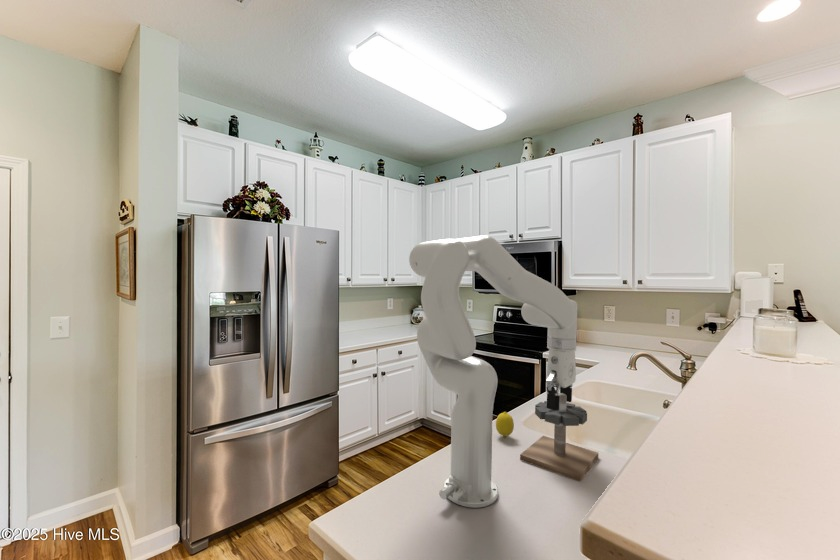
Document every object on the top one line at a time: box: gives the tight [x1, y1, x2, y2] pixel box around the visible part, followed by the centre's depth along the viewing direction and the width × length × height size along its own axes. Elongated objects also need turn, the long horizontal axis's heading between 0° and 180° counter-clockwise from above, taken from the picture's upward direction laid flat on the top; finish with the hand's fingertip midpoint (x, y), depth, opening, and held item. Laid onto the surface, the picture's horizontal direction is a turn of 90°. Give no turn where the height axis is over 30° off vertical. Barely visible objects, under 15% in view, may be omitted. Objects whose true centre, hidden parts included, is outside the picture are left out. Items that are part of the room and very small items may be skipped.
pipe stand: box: [519, 392, 599, 482], centre depth 103 cm, size 16×16×18 cm
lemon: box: [495, 411, 515, 438], centre depth 116 cm, size 6×6×8 cm
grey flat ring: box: [534, 400, 588, 427], centre depth 102 cm, size 13×13×2 cm
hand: (559, 405), depth 102 cm, fingers open, 9 cm apart
